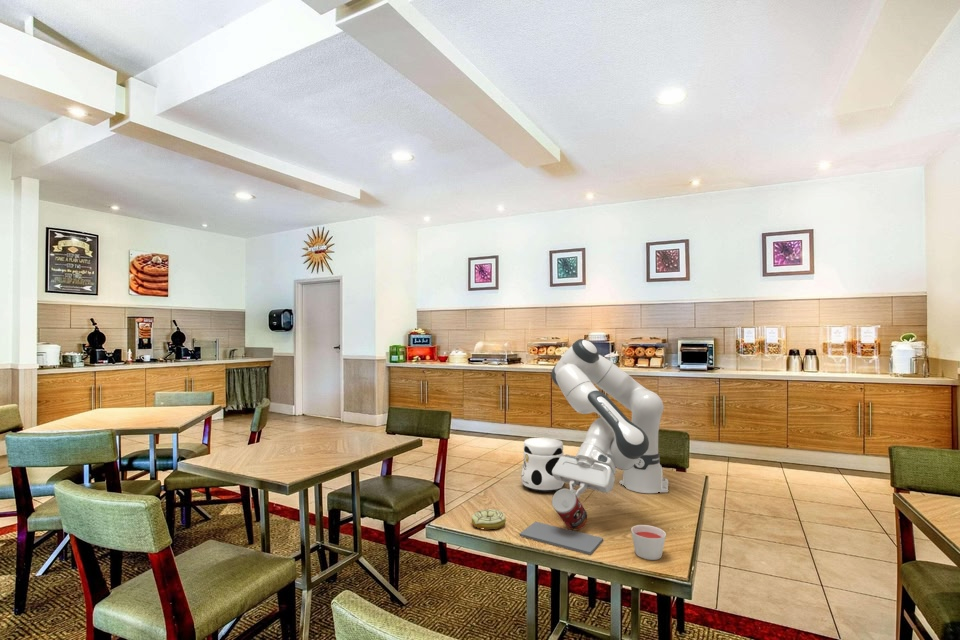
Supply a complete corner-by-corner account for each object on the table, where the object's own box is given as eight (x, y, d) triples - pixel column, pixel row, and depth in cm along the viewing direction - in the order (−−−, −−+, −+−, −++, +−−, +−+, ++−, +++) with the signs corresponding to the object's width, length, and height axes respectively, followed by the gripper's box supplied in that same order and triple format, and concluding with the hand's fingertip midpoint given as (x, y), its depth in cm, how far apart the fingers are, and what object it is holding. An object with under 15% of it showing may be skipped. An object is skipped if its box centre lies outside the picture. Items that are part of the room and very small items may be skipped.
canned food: (577, 535, 146) (563, 517, 140) (559, 520, 152) (546, 502, 147) (593, 516, 148) (581, 497, 142) (575, 502, 154) (563, 483, 149)
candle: (637, 544, 138) (637, 522, 138) (669, 553, 133) (669, 530, 133) (626, 556, 131) (626, 532, 131) (660, 565, 126) (660, 541, 126)
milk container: (513, 483, 193) (514, 438, 193) (551, 479, 199) (552, 435, 200) (533, 497, 177) (533, 448, 177) (574, 492, 183) (574, 445, 183)
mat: (535, 523, 152) (535, 521, 152) (603, 540, 140) (603, 537, 141) (519, 536, 143) (519, 533, 143) (590, 555, 131) (590, 552, 131)
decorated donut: (470, 519, 156) (470, 507, 156) (503, 518, 157) (503, 506, 157) (473, 532, 146) (473, 519, 146) (507, 531, 147) (507, 518, 147)
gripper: (559, 447, 162) (541, 482, 154) (615, 460, 148) (599, 498, 141) (565, 459, 165) (548, 493, 157) (621, 472, 152) (606, 510, 144)
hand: (573, 496), depth 149 cm, fingers closed, pressing on canned food
